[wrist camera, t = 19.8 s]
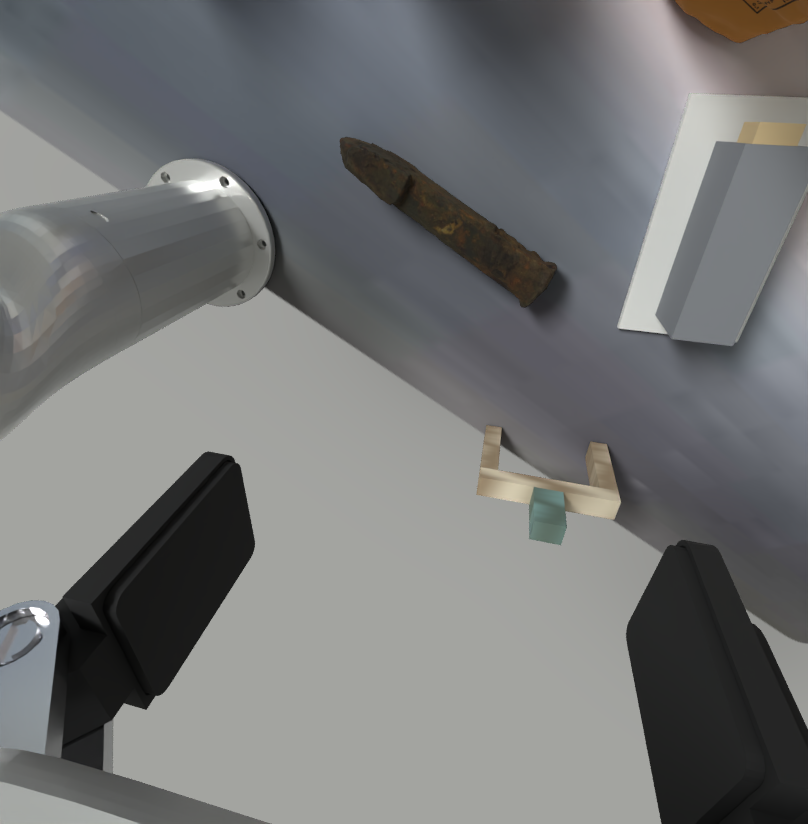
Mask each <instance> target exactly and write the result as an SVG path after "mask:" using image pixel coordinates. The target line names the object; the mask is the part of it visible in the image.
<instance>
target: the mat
mask: <svg viewBox="0 0 808 824" xmlns="http://www.w3.org/2000/svg"><path fill="white" fill-rule="evenodd" d="M744 122H774V123H797V124H807V125H806V127H805V129H804V132H803V134H802V136H801V139H800V141H799V143H798V146H806V147H808V98H807V97H780V96H753V95H726V94H699V93H690V94H689V95H688V99H687V102H686V105H685V108H684V112H683V115H682V118H681V121H680V124H679V128H678V131H677V134H676V137H675V141H674V144H673V147H672V150H671V154H670V157H669V160H668V163H667V167H666V170H665V173H664V176H663V179H662V183H661V186H660V189H659V192H658V196H657V199H656V202H655V205H654V209H653V212H652V215H651V218H650V222H649V225H648V228H647V231H646V234H645V238H644V241H643V244H642V247H641V251H640V254H639V257H638V260H637V264H636V267H635V270H634V273H633V277H632V280H631V283H630V286H629V289H628V293H627V296H626V299H625V302H624V306H623V309H622V312H621V315H620V319H619V322H618V325H617V327H618V328H619V329H628V330H636V331H645V332H653V333H662V334H668V333H667V332H666V330H665V329H664V327H663V326H662V324H661V323H660V321H659V320H658V318H657V317H656V315H655V314H656V311H657V308H658V305H659V303H660V300H661V297H662V294H663V291H664V288H665V285H666V283H667V280H668V277H669V274H670V271H671V268H672V265H673V263H674V260H675V257H676V254H677V251H678V248H679V245H680V243H681V240H682V237H683V234H684V231H685V228H686V225H687V223H688V220H689V217H690V214H691V211H692V208H693V205H694V203H695V200H696V197H697V194H698V191H699V188H700V186H701V183H702V180H703V177H704V174H705V171H706V168H707V166H708V163H709V160H710V157H711V154H712V151H713V148H714V146H715V143H716V141H723V142H737V140H738V138H739V135H740V132H741V130H742V127H743V124H744ZM807 192H808V185H807V187H806V189H805V191H804V194H803V196H802V198H801V200H800V202H799V204H798V206H797V209H796V211H795V213H794V215H793V217H792V219H791V222H790V224H789V226H788V228H787V230H786V232H785V235H784V237H783V239H782V241H781V243H780V245H779V247H778V250H777V252H776V254H775V256H774V258H773V260H772V263H771V265H770V267H769V269H768V271H767V273H766V276H765V278H764V280H763V282H762V284H761V286H760V289H759V291H758V293H757V295H756V297H755V299H754V301H753V304H752V306H751V308H750V310H749V312H748V314H747V317H746V319H745V321H744V323H743V325H742V327H741V330H740V332H739V334H738V336H737V338H736V340H735V342H738V340H739V338H740V335H741V333H742V331H743V329H744V327H745V325H746V323H747V321H748V318H749V316H750V314H751V312H752V310H753V308H754V306H755V303H756V301H757V299H758V297H759V295H760V293H761V291H762V288H763V286H764V284H765V282H766V280H767V278H768V276H769V273H770V271H771V269H772V267H773V265H774V263H775V261H776V258H777V256H778V254H779V252H780V250H781V248H782V246H783V243H784V241H785V239H786V237H787V235H788V233H789V231H790V229H791V226H792V224H793V222H794V220H795V218H796V216H797V214H798V211H799V209H800V207H801V205H802V203H803V201H804V199H805V196H806V194H807Z"/></svg>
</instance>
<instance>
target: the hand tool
mask: <svg viewBox="0 0 808 824" xmlns="http://www.w3.org/2000/svg"><path fill="white" fill-rule="evenodd" d="M340 148H341V155H342V160H343V163H344V166H345V168H346V169H348V170H349V171H350V172H351V173H352V174H353V175H354V176H356V177H357V178H358V179H359V180H360V181H361V182H362V183H364V184H365V185H366V186H368V187H369V188H370V189H371V190H372V191H373V192H374V193H375V194H376V195H377V196H378V197H379V198H380V199H381V200H383V201H385V202H386V203H388V204H390V205H391V204H393V205H395V206H396V207H397V208H398V209H399V210H401V211H402V212H404V213H405V214H407V215H408V216H409V217H411V218H412V219H414V220H415V221H416V222H418V223H420V224H421V225H422V226H423V227H424V228H425V229H426V230H428V231H429V232H431V233H432V234H433V235H435V236H436V237H437V238H438V239H439V240H441V241H442V242H443V243H445V244H446V245H447V246H449V247H450V248H451V249H453V250H454V251H455V252H457V253H458V254H459V255H461V256H462V257H463V258H465V259H466V260H468V261H469V262H470V263H471V264H473V265H474V266H476V267H477V268H478V269H480V270H481V271H482V272H483V273H485V274H486V275H488V276H489V277H490V278H492V279H493V280H495V281H496V282H498V283H499V284H501V285H502V286H503V287H505V288H506V289H507V290H509V291H510V292H511V293H513V294H514V295H515V296H516V297H517V298H518V299H519V300H520V306H521V307H524V308H525V307H527V306H529V305H530V304H531V303H532V302H533V301H534V300H535V299H536V298H537V297H538V296H539V295H540V294H541V293H542V292H543V291H544V290H546V289H547V286H548V284H549V283H550V281H551V279H552V278H553V275H554V273H555V271H556V270H557V265H556V264H555V263H553V262H544V261H542V260H541V258H540V257H539V255H538V254H537V253H536V252H535V251H528V250H527V249H526V248H525V247H524V246H523V245H521V244H520V243H519V242H517V241H516V239H515V238H513V237H512V236H510V235H508V234H507V233H506V232H505V231H504V230H503V229H498V228H497V226H496V225H495V224H493V223H491V222H489V221H488V220H487V219H485V218H484V217H483V216H481V215H479V214H478V213H476V212H475V211H474V210H472V209H471V208H469V207H468V206H467V205H465V204H464V203H462V202H461V201H460V200H458V199H457V198H455V197H454V196H453V195H451V194H450V193H449V192H447V191H446V190H445V189H443V188H442V187H440V186H439V185H438V184H436V183H435V182H433V181H432V180H431V179H429V178H428V177H426V176H425V175H424V174H422V173H421V172H420V171H419V170H418V169H417V168H416V167H415V166H413V165H412V164H410V163H409V162H407V161H406V160H404V159H402V158H401V157H399V156H397V155H396V154H394V153H392V152H391V151H390V152H389V151H388V150H387V151H386V150H384V149H382V148H380V147H379V146H377V145H375V144H373V143H372V144H370V143H367V142H364V141H361V140H358V139H355V138H350V137H345V138H341V139H340Z"/></svg>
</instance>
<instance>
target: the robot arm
mask: <svg viewBox="0 0 808 824" xmlns="http://www.w3.org/2000/svg"><path fill="white" fill-rule="evenodd" d="M228 181H229V183H228ZM264 241H265V242H266V244H265V243H264ZM274 261H275V241H274V236H273V231H272V227H271V224H270V221H269V219H268V216H267V214H266V211H265V210H264V208H263V206H262V204H261V203H260V201H259V199H258V198H257V196H256V195H255V194H254V193H253V191H252V190H251V189H250V188H249V186H248V185H247V184H246V183H245V182H244V181H243V180H241V179H240V178H239V177H238V176H237V175H236V174H234V173H233V172H231V171H230V170H228V169H227V168H225V167H224V166H221V165H219V164H217V163H214V162H212V161H208V160H203V159H198V158H196V159H182V160H177V161H172V162H170V163H168V164H166V165H164V166H162V167H161V168H160V169H159V170H158V171H157V172H156V173H154V175H153V176H152V178H151V179H150V181H149V182H148V184H147V187H143V188H137V189H131V190H125V191H119V192H113V193H107V194H101V195H95V196H88V197H83V198H76V199H70V200H65V201H58V202H52V203H46V204H40V205H33V206H27V207H22V208H16V209H12V210H8V211H5V212H1V213H0V441H1V440H2V439H3V438H4V437H5V436H7V435H8V434H9V433H10V432H11V431H12V430H13V429H15V428H16V427H17V426H18V425H19V424H20V423H21V422H22V421H23V420H24V419H26V418H27V417H28V416H29V415H30V414H31V413H32V412H33V411H34V410H35V409H36V408H38V406H40V405H41V404H42V403H43V402H44V401H46V400H47V399H48V398H49V397H50V396H52V395H53V394H54V393H56V392H57V391H58V390H60V389H61V388H62V387H64V386H65V385H67V384H68V383H70V382H71V381H73V380H74V379H75V378H77V377H79V376H80V375H82V374H83V373H85V372H87V371H88V370H90V369H92V368H93V367H95V366H97V365H98V364H100V363H102V362H103V361H105V360H107V359H109V358H110V357H112V356H114V355H116V354H117V353H119V352H121V351H123V350H125V349H127V348H128V347H130V346H132V345H134V344H136V343H137V342H139V341H141V340H143V339H144V338H147V337H148V336H150V335H152V334H154V333H155V332H157V331H159V330H160V329H163V328H164V327H166V326H168V325H170V324H171V323H173V322H175V321H177V320H178V319H180V318H182V317H183V316H186V315H187V314H189V313H191V312H193V311H194V310H196V309H198V308H200V307H202V306H203V305H205V304H210V305H215V306H227V307H229V306H235V305H239V304H242V303H244V302H246V301H248V300H250V299H252V298H253V297H255V296H256V295H257V294H258V293H259V292H260V291H261V290H262V289H263V288H264V287H265V286H266V284H267V282H268V280H269V279H270V277H271V273H272V270H273V267H274ZM254 547H255V540H254V535H253V529H252V524H251V519H250V514H249V509H248V503H247V498H246V493H245V488H244V483H243V477H242V473H241V467H240V465H239V464H238V463H235V460H234V458H233V457H232V456H229V455H224V454H218V453H213V452H205V453H204V454H202V455H201V457H199V458H198V459H197V460H196V461H195V462H194V463H193V464H192V465H191V466H190V467H189V469H188V470H187V471H186V472H185V473H184V474H183V475H182V476H181V477H180V478H179V479H178V480H177V481H176V482H175V483H174V484H173V485H172V486H171V487H170V488H169V489H168V490H167V491H166V492H165V493H164V494H163V495H162V496H161V497H160V498H159V499H158V500H157V501H156V502H155V503H154V504H153V505H152V506H151V507H150V508H149V509H148V510H147V511H146V512H145V513H144V514H143V515H142V516H141V517H140V519H138V520H137V521H136V523H134V524H133V525H132V527H130V528H129V530H128V531H127V532H126V533H125V534H124V535H123V536H122V537H121V538H120V539H119V540H118V541H117V542H116V543H115V544H114V545H113V546H112V547H111V548H110V549H109V550H108V551H107V552H106V553H105V554H104V555H103V556H102V557H101V558H100V559H99V560H98V561H97V562H96V563H95V564H94V565H93V566H92V567H91V568H90V569H89V570H88V571H87V572H86V573H85V574H84V575H83V576H82V577H81V578H80V579H79V580H78V581H77V582H76V583H75V584H74V585H73V586H72V587H71V588H70V589H69V591H68V592H67V593H66V594H65V595H64V596H63V598H62V599H61V600H60V602H59V603H58V604H57V605H56V606H54V605H53V604H51V603H49V602H46V601H38V600H34V601H33V600H31V601H26V602H21V603H17V604H15V605H12V606H10V607H7V608H5V609H2V610H0V824H270V823H266V822H263V821H260V820H257V819H254V818H251V817H248V816H244V815H241V814H238V813H235V812H232V811H229V810H226V809H223V808H220V807H217V806H213V805H210V804H207V803H204V802H201V801H198V800H195V799H192V798H189V797H185V796H182V795H179V794H176V793H173V792H170V791H167V790H164V789H160V788H157V787H154V786H151V785H148V784H145V783H142V782H139V781H135V780H132V779H129V778H125V777H122V776H119V775H115V774H113V718H114V716H115V715H116V713H117V712H118V711H119V709H120V708H121V706H122V705H123V703H126V704H129V705H132V706H135V707H139V708H142V709H145V710H146V709H147V708H148V706H149V705H150V703H151V702H152V700H153V699H154V697H155V696H159V695H161V694H163V693H164V692H165V690H166V689H167V688H168V687H169V685H170V683H171V682H172V680H173V679H174V677H175V676H176V674H177V673H178V671H179V669H180V668H181V666H182V665H183V663H184V661H185V660H186V658H187V657H188V655H189V654H190V652H191V651H192V649H193V647H194V646H195V644H196V643H197V641H198V640H199V638H200V636H201V635H202V633H203V632H204V630H205V629H206V627H207V626H208V624H209V622H210V621H211V619H212V618H213V616H214V615H215V613H216V611H217V610H218V608H219V607H220V605H221V604H222V602H223V600H224V599H225V597H226V596H227V594H228V593H229V591H230V589H231V588H232V586H233V585H234V583H235V582H236V580H237V579H238V577H239V575H240V574H241V572H242V571H243V569H244V567H245V566H246V564H247V563H248V561H249V560H250V558H251V556H252V554H253V551H254ZM626 638H627V646H628V651H629V656H630V661H631V667H632V672H633V677H634V682H635V687H636V692H637V698H638V703H639V708H640V714H641V719H642V724H643V729H644V735H645V740H646V745H647V750H648V756H649V761H650V766H651V771H652V776H653V782H654V787H655V792H656V797H657V802H658V808H659V813H660V818H661V823H662V824H808V729H807V726H806V725H805V722H804V720H803V718H802V716H801V713H800V711H799V709H798V707H797V705H796V703H795V701H794V698H793V696H792V694H791V692H790V690H789V688H788V685H787V683H786V681H785V679H784V677H783V675H782V672H781V670H780V668H779V666H778V664H777V662H776V659H775V657H774V655H773V653H772V651H771V649H770V646H769V644H768V642H767V640H766V638H765V637H764V635H763V633H762V632H761V630H760V629H759V628H758V627H757V626H756V625H754V624H752V623H751V621H750V619H749V617H748V614H747V612H746V610H745V608H744V605H743V603H742V601H741V599H740V596H739V594H738V592H737V590H736V587H735V585H734V583H733V581H732V579H731V576H730V574H729V572H728V570H727V567H726V565H725V563H724V561H723V558H722V556H721V554H720V552H719V550H718V549H717V548H716V547H715V546H713V545H707V544H702V543H697V542H691V541H686V540H681V541H679V542H678V543H677V545H676V546H673V545H669V546H668V547H667V549H666V550H665V552H664V554H663V556H662V558H661V560H660V562H659V564H658V566H657V568H656V570H655V572H654V574H653V576H652V578H651V580H650V582H649V584H648V586H647V588H646V589H645V591H644V593H643V595H642V597H641V599H640V601H639V603H638V605H637V607H636V609H635V611H634V613H633V615H632V617H631V619H630V621H629V623H628V626H627V633H626Z"/></svg>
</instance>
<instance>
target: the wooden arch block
mask: <svg viewBox="0 0 808 824" xmlns="http://www.w3.org/2000/svg"><path fill="white" fill-rule="evenodd" d="M501 429H502V428H501V427H494V426H488V425H486V431H485V437H484V445H483V452H482V458H481V466H480V473H479V480H478V488H477V495H481V496H487V497H492V498H498V499H503V500H508V501H514V502H519V503H525V504H529V531H530V532H529V535H530V536H529V538H530V539H532V540H537V541H543V542H547V543H553V544H558V545H561V543H562V540H563V537H564V534H565V531H566V528H567V525H566V514H565V511H568V512H574V513H579V514H584V515H590V516H596V517H601V518H606V519H612V520H614V519H615V516H616V514H617V511H618V509H619V506H620V504H621V500H620V496H619V492H618V488H617V484H616V480H615V476H614V472H613V468H612V464H611V459H610V455H609V451H608V447H607V444H602V443H596V442H590V445H589V448H588V451H587V454H586V457H585V460H586V465H587V471H588V477H589V483H590V486H587V485H581V484H575V483H570V482H564V481H558V480H552V479H546V478H541V477H535V476H529V475H523V474H518V473H511V472H506V471H499V470H498V464H499V452H500V441H501Z"/></svg>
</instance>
